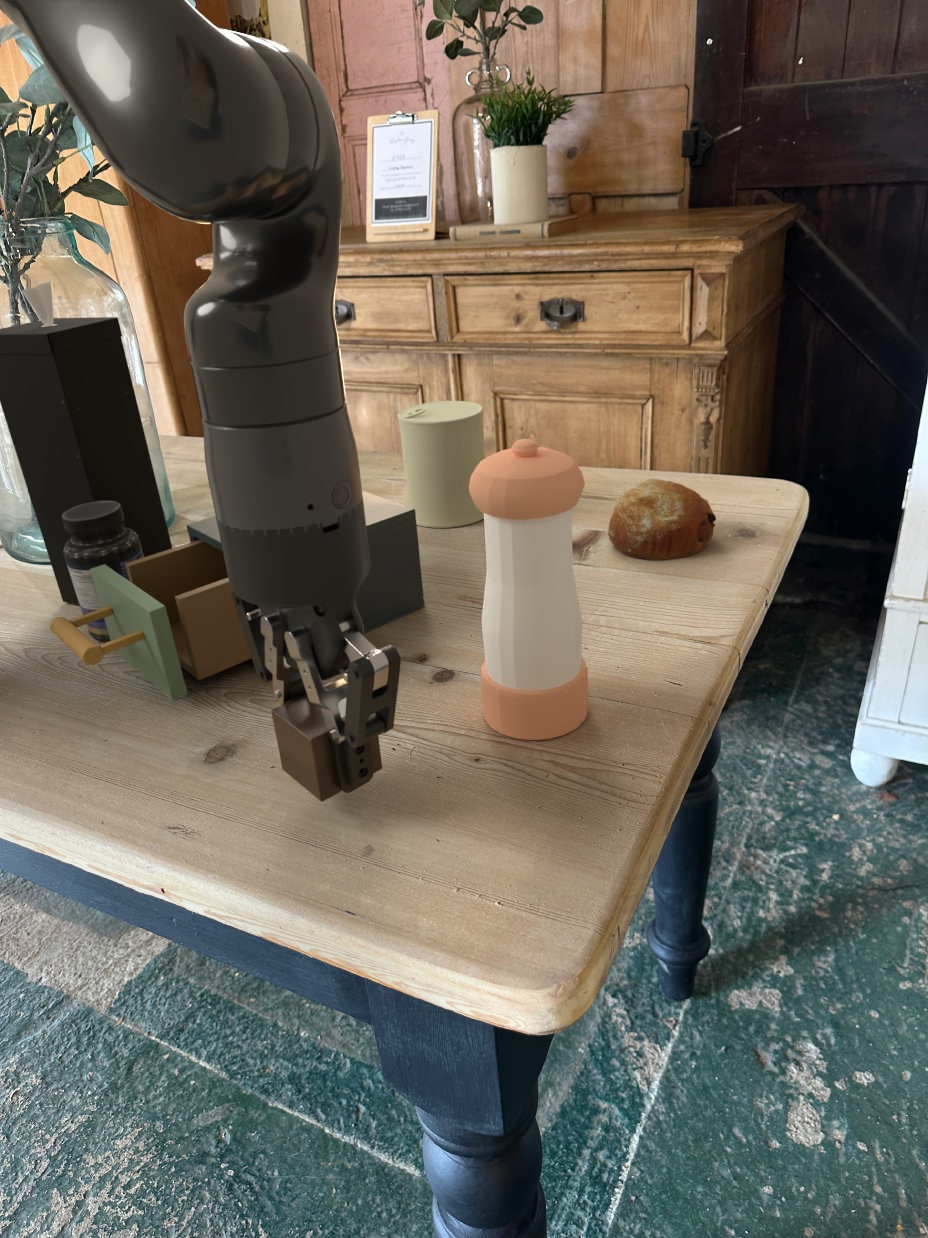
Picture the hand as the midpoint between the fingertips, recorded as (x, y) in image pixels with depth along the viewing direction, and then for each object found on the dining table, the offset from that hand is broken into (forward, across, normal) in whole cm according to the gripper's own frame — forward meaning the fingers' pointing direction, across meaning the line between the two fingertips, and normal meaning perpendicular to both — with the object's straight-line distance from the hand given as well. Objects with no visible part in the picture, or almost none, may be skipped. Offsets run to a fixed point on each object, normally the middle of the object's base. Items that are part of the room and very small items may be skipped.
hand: (331, 765), depth 52 cm
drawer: (+2, -23, +2) cm, 23 cm away
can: (+3, -33, +37) cm, 50 cm away
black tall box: (+3, -42, +3) cm, 42 cm away
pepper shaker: (+2, +2, +15) cm, 15 cm away
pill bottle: (+3, -34, 0) cm, 34 cm away
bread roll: (+2, -10, +45) cm, 46 cm away
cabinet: (+2, -23, +13) cm, 26 cm away
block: (0, 0, 0) cm, 0 cm away
